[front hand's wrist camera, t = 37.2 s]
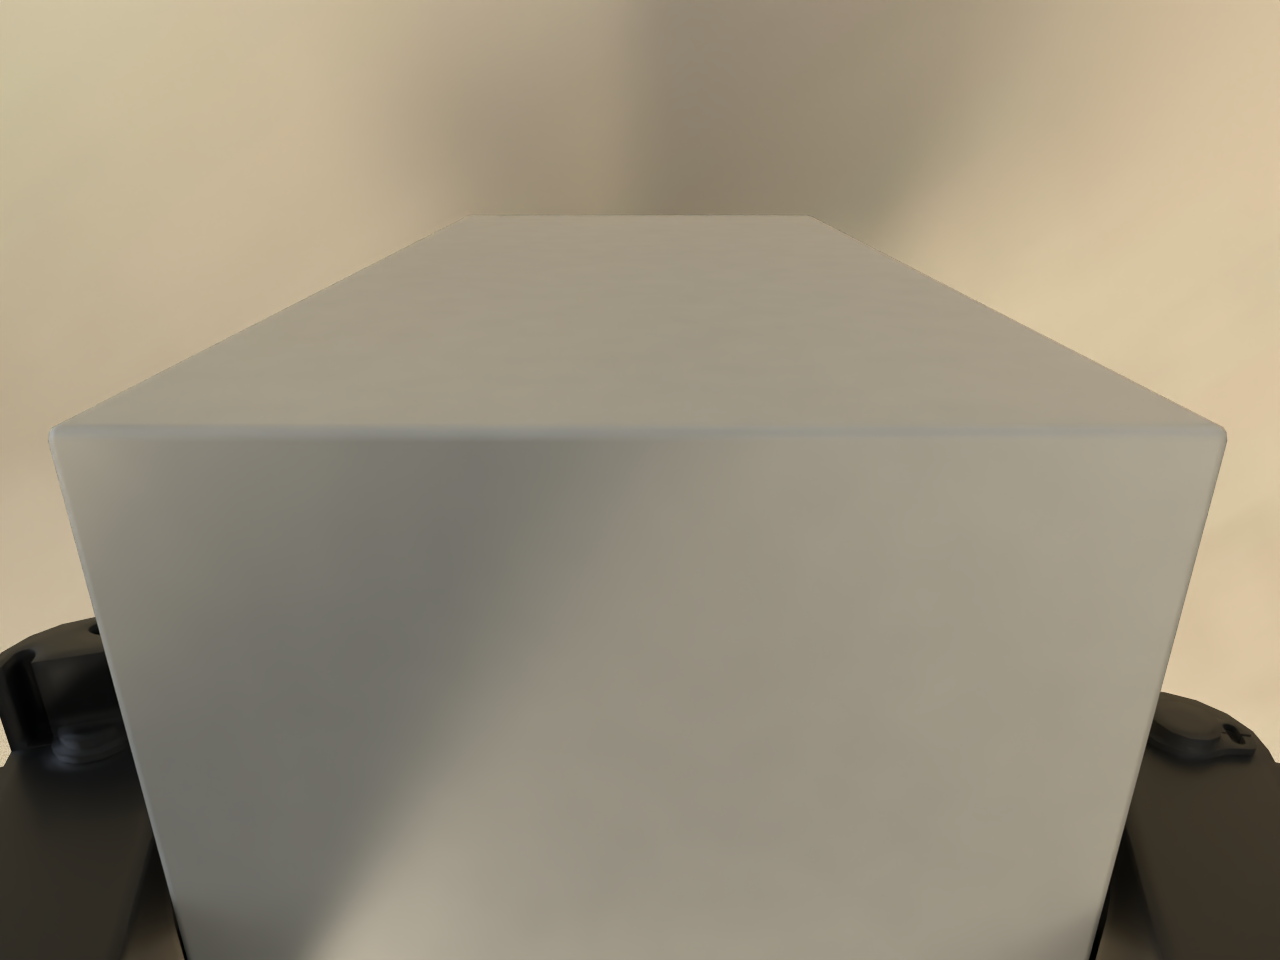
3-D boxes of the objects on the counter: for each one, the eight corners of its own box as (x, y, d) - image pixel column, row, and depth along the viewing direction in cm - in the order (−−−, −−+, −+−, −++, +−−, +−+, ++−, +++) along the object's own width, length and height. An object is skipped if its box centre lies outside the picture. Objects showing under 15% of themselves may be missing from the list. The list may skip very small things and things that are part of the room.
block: (780, 658, 19) (977, 1394, 8) (497, 658, 19) (299, 1394, 8) (812, 215, 15) (1237, 428, 4) (465, 215, 15) (37, 428, 4)
